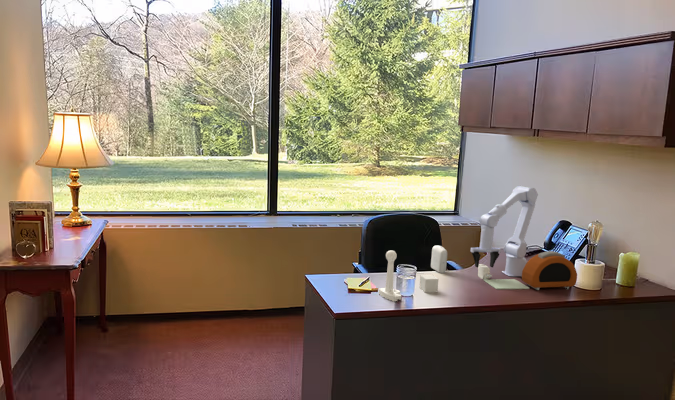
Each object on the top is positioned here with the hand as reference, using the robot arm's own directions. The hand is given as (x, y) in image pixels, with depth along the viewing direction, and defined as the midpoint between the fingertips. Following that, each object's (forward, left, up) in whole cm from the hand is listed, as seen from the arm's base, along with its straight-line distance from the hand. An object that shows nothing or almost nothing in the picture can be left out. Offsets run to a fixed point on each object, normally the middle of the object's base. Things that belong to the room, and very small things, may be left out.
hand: (484, 266), depth 250 cm
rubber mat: (-6, +11, -5) cm, 14 cm away
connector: (0, +1, -5) cm, 6 cm away
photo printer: (+18, -13, -6) cm, 23 cm away
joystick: (+53, +25, -6) cm, 59 cm away
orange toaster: (-25, +15, -6) cm, 30 cm away
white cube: (+34, +17, -6) cm, 38 cm away
